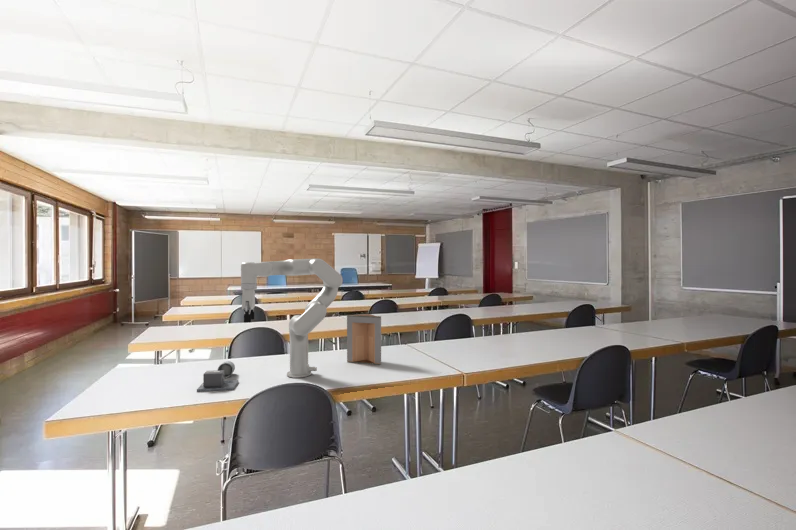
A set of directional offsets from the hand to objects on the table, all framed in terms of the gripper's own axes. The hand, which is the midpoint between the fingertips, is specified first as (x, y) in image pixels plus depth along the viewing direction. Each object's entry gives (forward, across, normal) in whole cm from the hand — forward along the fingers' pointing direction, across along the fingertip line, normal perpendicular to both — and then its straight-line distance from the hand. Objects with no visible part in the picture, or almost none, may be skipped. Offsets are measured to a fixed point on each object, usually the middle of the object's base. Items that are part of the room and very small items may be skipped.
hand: (249, 320), depth 206 cm
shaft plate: (+30, +8, -13) cm, 34 cm away
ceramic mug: (+31, -11, -15) cm, 36 cm away
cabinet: (+31, -27, +62) cm, 74 cm away
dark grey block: (+29, +8, -15) cm, 34 cm away
